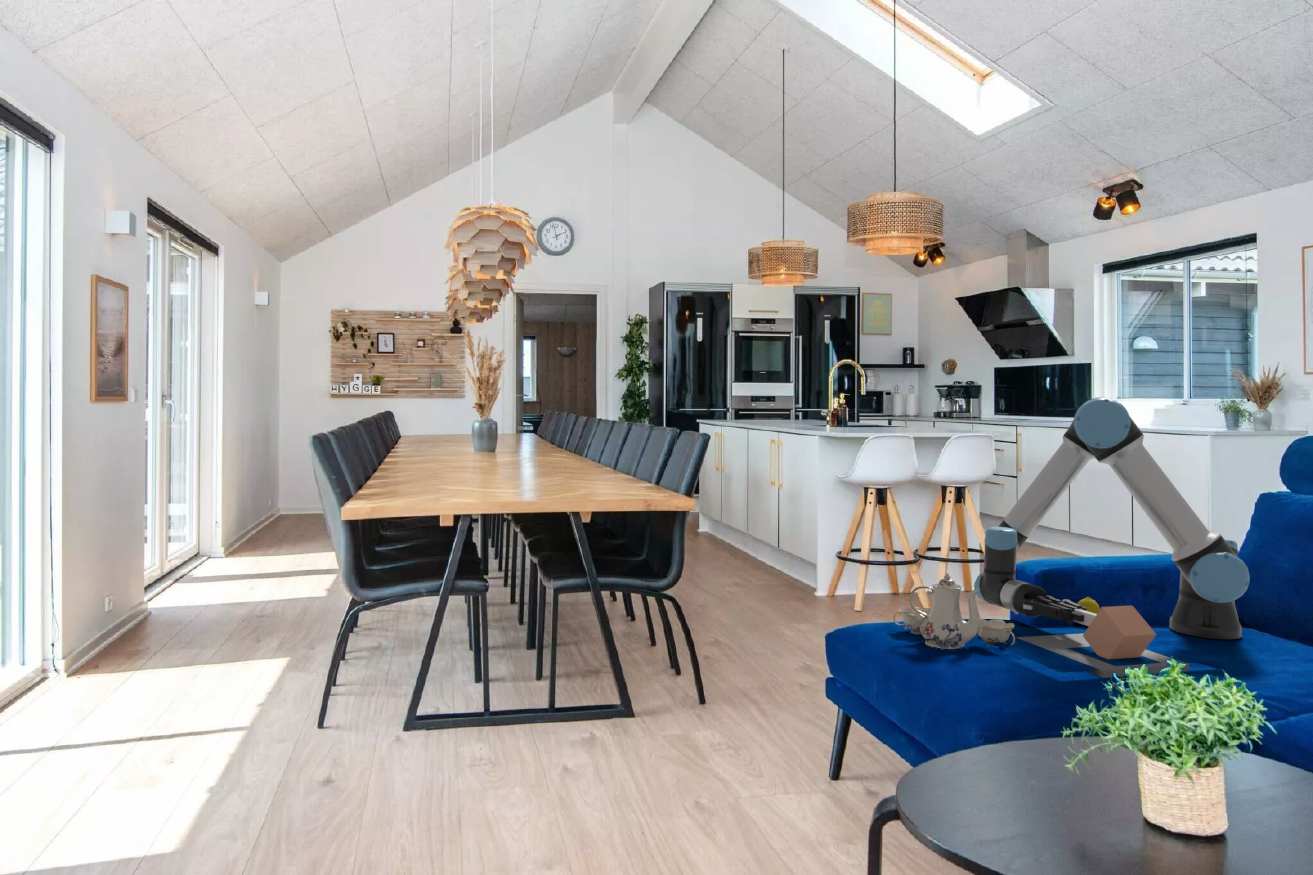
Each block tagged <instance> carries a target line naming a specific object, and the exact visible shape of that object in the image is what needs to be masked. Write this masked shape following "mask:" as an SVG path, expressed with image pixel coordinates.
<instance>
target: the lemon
mask: <svg viewBox="0 0 1313 875" xmlns="http://www.w3.org/2000/svg"><path fill="white" fill-rule="evenodd" d="M1077 604H1078V605H1082V606H1083V607H1085V608H1087V611H1088V612H1091V613H1094V614H1098V612H1099V611H1100V609H1101V607H1100V606H1099V604H1098V603H1097V601H1096V600H1094V599H1093V598H1091V597H1089V596H1086V597H1085V598H1083V599H1081V600H1079V601H1078V602H1077ZM1078 624H1079V625H1083V624H1080V623H1078ZM1083 626H1084V625H1083Z"/></svg>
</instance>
